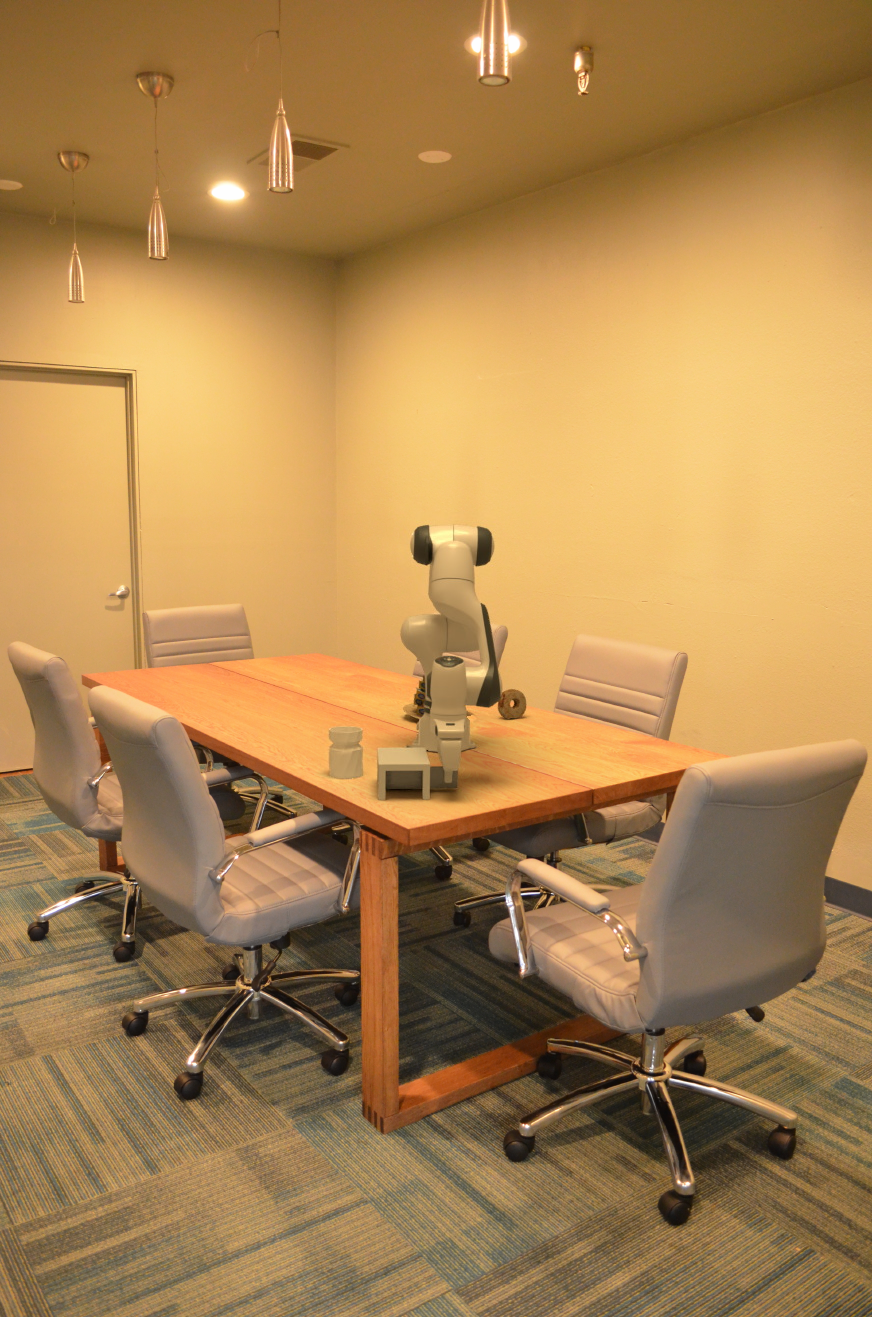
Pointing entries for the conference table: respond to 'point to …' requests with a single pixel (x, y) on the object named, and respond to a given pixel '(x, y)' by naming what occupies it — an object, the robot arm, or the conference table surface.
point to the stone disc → (518, 705)
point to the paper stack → (419, 702)
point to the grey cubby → (402, 766)
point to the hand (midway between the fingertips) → (447, 780)
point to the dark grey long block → (419, 779)
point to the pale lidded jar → (345, 752)
